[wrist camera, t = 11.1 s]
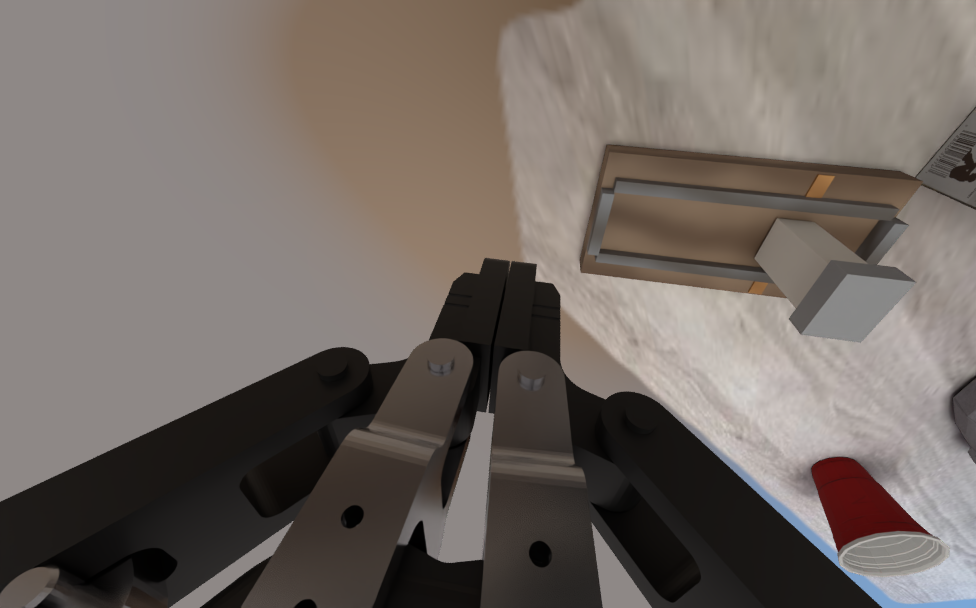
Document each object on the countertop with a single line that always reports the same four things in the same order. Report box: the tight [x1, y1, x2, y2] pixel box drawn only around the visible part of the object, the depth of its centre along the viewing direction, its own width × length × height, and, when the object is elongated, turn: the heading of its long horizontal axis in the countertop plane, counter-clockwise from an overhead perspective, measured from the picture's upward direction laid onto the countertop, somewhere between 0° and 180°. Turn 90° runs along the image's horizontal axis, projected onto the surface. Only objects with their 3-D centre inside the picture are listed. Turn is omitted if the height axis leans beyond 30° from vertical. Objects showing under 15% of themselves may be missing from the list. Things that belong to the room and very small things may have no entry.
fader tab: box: [754, 218, 916, 343], centre depth 29 cm, size 5×4×10 cm
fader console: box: [580, 145, 923, 298], centre depth 34 cm, size 12×24×4 cm, turn 87°
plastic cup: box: [811, 457, 950, 577], centre depth 49 cm, size 11×11×12 cm
